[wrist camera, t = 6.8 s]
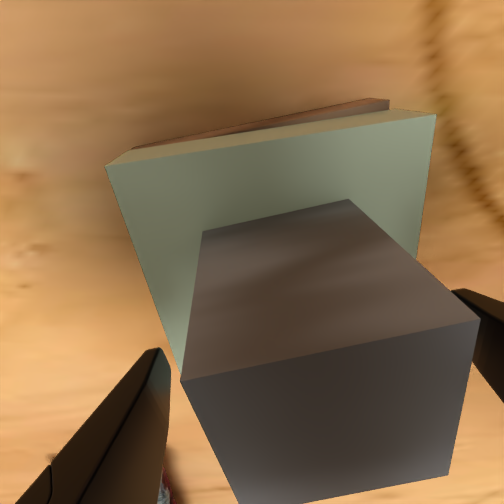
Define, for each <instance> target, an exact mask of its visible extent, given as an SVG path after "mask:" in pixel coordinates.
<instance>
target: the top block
mask: <svg viewBox="0 0 504 504" xmlns="http://www.w3.org/2000/svg"><path fill="white" fill-rule="evenodd" d="M436 116H437V114H431V113H424V112H416V111H409V110H401V109H391V110H384V111H378V112H372V113H365V114H359V115H352V116H346V117H340V118H333V119H327V120H320V121H314V122H308V123H301V124H295V125H288V126H282V127H275V128H269V129H263V130H256V131H250V132H243V133H237V134H231V135H224V136H218V137H211V138H205V139H199V140H192V141H186V142H179V143H173V144H166V145H160V146H154V147H147V148H141V149H134V150H128V151H126V152H125V153H123V154H122V155H120V156H119V157H117V158H116V159H114V160H113V161H111V162H110V163H108V164H107V165H105V169H106V172H107V175H108V177H109V180H110V183H111V185H112V188H113V191H114V194H115V196H116V199H117V202H118V205H119V207H120V210H121V213H122V216H123V218H124V221H125V224H126V227H127V229H128V232H129V235H130V237H131V240H132V243H133V246H134V248H135V251H136V254H137V257H138V259H139V262H140V265H141V268H142V270H143V273H144V276H145V279H146V281H147V284H148V287H149V289H150V292H151V295H152V298H153V300H154V303H155V306H156V309H157V311H158V314H159V317H160V320H161V322H162V325H163V328H164V331H165V333H166V336H167V339H168V341H169V344H170V347H171V350H172V352H173V355H174V358H175V361H176V363H177V366H178V369H179V372H180V374H181V372H182V365H183V358H184V352H185V345H186V338H187V332H188V325H189V318H190V312H191V305H192V298H193V292H194V285H195V278H196V272H197V265H198V258H199V252H200V245H201V238H202V231H206V230H210V229H215V228H219V227H224V226H228V225H233V224H237V223H242V222H246V221H251V220H255V219H260V218H264V217H269V216H273V215H278V214H282V213H287V212H291V211H296V210H300V209H305V208H309V207H314V206H318V205H323V204H327V203H332V202H336V201H341V200H345V199H350V200H351V201H352V202H353V203H354V204H355V205H356V206H357V207H358V208H360V209H361V210H362V211H363V212H364V213H365V214H366V215H367V216H368V217H369V218H371V219H372V220H373V221H374V222H375V223H376V224H377V225H378V226H379V227H380V228H382V229H383V230H384V231H385V232H386V233H387V234H388V235H389V236H390V237H391V238H393V239H394V240H395V241H396V242H397V243H398V244H399V245H400V246H401V247H402V248H404V249H405V250H406V251H407V252H408V253H409V254H410V255H411V256H412V257H413V258H414V259H416V256H417V249H418V242H419V235H420V228H421V221H422V214H423V207H424V200H425V193H426V186H427V179H428V172H429V165H430V158H431V151H432V144H433V137H434V130H435V123H436Z"/></svg>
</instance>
